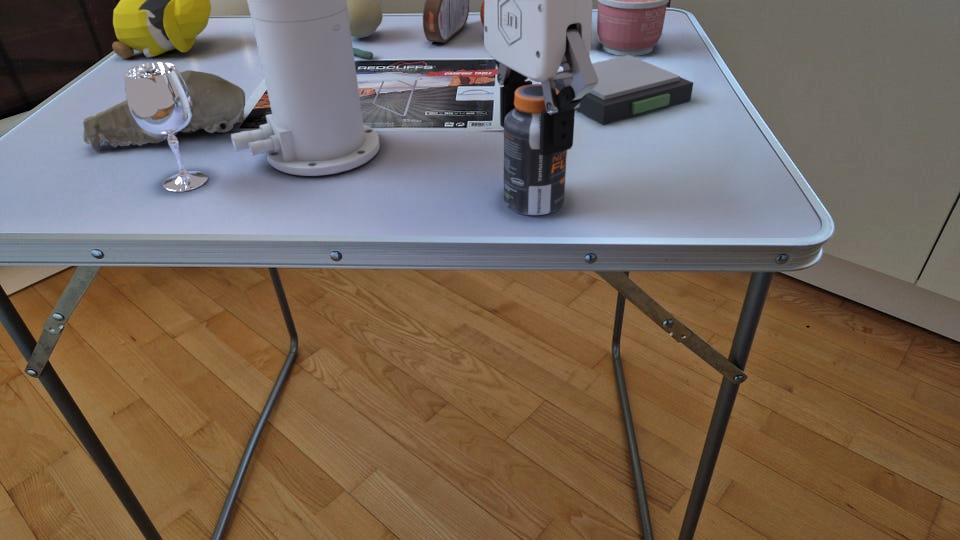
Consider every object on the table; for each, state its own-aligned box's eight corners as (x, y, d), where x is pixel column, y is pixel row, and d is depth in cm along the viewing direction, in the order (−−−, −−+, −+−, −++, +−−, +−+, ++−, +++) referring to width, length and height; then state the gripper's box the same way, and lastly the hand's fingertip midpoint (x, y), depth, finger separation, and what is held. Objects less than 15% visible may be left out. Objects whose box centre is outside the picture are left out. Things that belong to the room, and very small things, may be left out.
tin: (456, 22, 117) (454, -30, 112) (473, 23, 116) (472, -29, 111) (422, 48, 106) (418, -8, 101) (441, 50, 105) (437, -7, 100)
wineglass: (195, 164, 74) (162, 56, 67) (224, 178, 71) (193, 67, 64) (146, 184, 71) (106, 73, 64) (175, 200, 68) (136, 85, 61)
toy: (123, 73, 107) (209, 65, 104) (85, 13, 99) (176, 2, 96) (156, 30, 115) (236, 22, 112) (123, -28, 107) (208, -39, 105)
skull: (221, 80, 88) (255, 144, 87) (72, 120, 80) (108, 191, 78) (221, 35, 80) (260, 104, 79) (56, 74, 72) (96, 152, 70)
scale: (605, 126, 80) (607, 102, 78) (546, 93, 89) (547, 71, 87) (693, 102, 85) (697, 79, 84) (629, 73, 94) (632, 52, 93)
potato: (327, 39, 110) (319, -12, 105) (359, 27, 115) (353, -23, 111) (362, 46, 107) (355, -7, 102) (394, 33, 112) (389, -18, 107)
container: (653, 36, 108) (660, -17, 103) (670, 57, 99) (678, 1, 94) (588, 38, 108) (591, -15, 103) (599, 60, 99) (603, 3, 94)
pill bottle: (560, 220, 63) (567, 105, 56) (498, 214, 64) (497, 101, 57) (567, 189, 68) (573, 80, 61) (509, 184, 69) (509, 76, 62)
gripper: (446, -89, 56) (456, 115, 67) (565, -58, 44) (554, 186, 54) (522, -97, 59) (520, 99, 70) (654, -71, 47) (627, 163, 57)
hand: (535, 135), depth 62 cm, fingers closed on pill bottle, 6 cm apart
